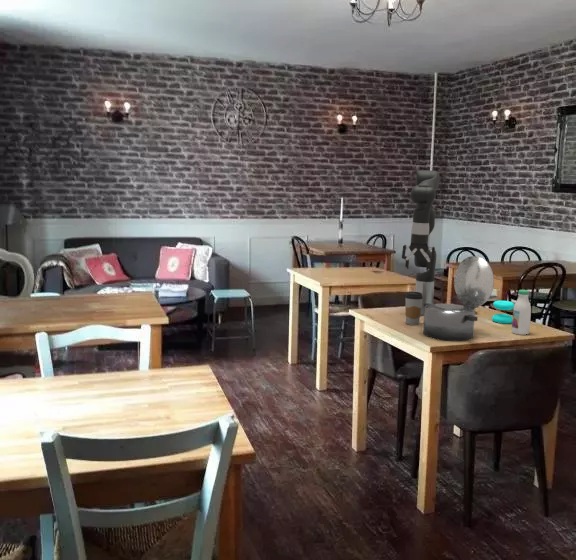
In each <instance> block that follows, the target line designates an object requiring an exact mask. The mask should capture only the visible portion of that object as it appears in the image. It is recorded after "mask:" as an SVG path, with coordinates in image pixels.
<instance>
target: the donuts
mask: <svg viewBox="0 0 576 560" xmlns="http://www.w3.org/2000/svg"><path fill="white" fill-rule="evenodd" d="M514 305H515V303H514V302H513V301H509V300H495V301H493V305H492V306H493V307H494V308H495V309H496V310H500V311H511V310H513V309H514ZM512 319H513V315H510V314H507V313H496V314H494V315H492V317H491V320H492V322H495V323H497V324H503V325H504V324H508V325H509V324H512Z"/></svg>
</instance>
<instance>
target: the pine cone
mask: <svg viewBox="0 0 576 560" xmlns="http://www.w3.org/2000/svg"><path fill="white" fill-rule="evenodd" d="M450 302H451V304H456V305H463V306H464V304H463V303H462V302H461V301H460V300H459V298H458V296H457V295H454V296H452V297H451V298H450ZM479 307H480V306H477V307H475V309H476V308H477V309H478V308H479Z"/></svg>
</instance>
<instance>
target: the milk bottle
mask: <svg viewBox="0 0 576 560" xmlns="http://www.w3.org/2000/svg"><path fill="white" fill-rule="evenodd" d="M517 295H518V296H517V299H516V302H515V303H514V308H513V309H512V317H513V319H512V323H511V333H512V334H514V335H520V336H521V335H522V336H523V335H525V336H527V335H529V334H530V327H531V314H532V306H531V303H530V301H529V296H530V290H527V289H519V290H518V293H517ZM526 334H527V335H526Z"/></svg>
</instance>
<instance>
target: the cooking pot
mask: <svg viewBox="0 0 576 560" xmlns="http://www.w3.org/2000/svg"><path fill="white" fill-rule="evenodd" d="M424 307H425V309H424V315H423V330H422V334H423V335H424V336H425V337H428V338H431V339H433V338H434V340H438V339H439V340H440V341H444V342H445V341H447V342H463V341H470V340H472V339H474V331H475V322H477V321H478V320H479V319H478V317H479V316H476V309H473V308H471V307H467V306H463V305H456V304H453V303H433V304H429V303H427V304H424ZM469 339H470V340H469ZM439 340H438V341H439Z"/></svg>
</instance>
